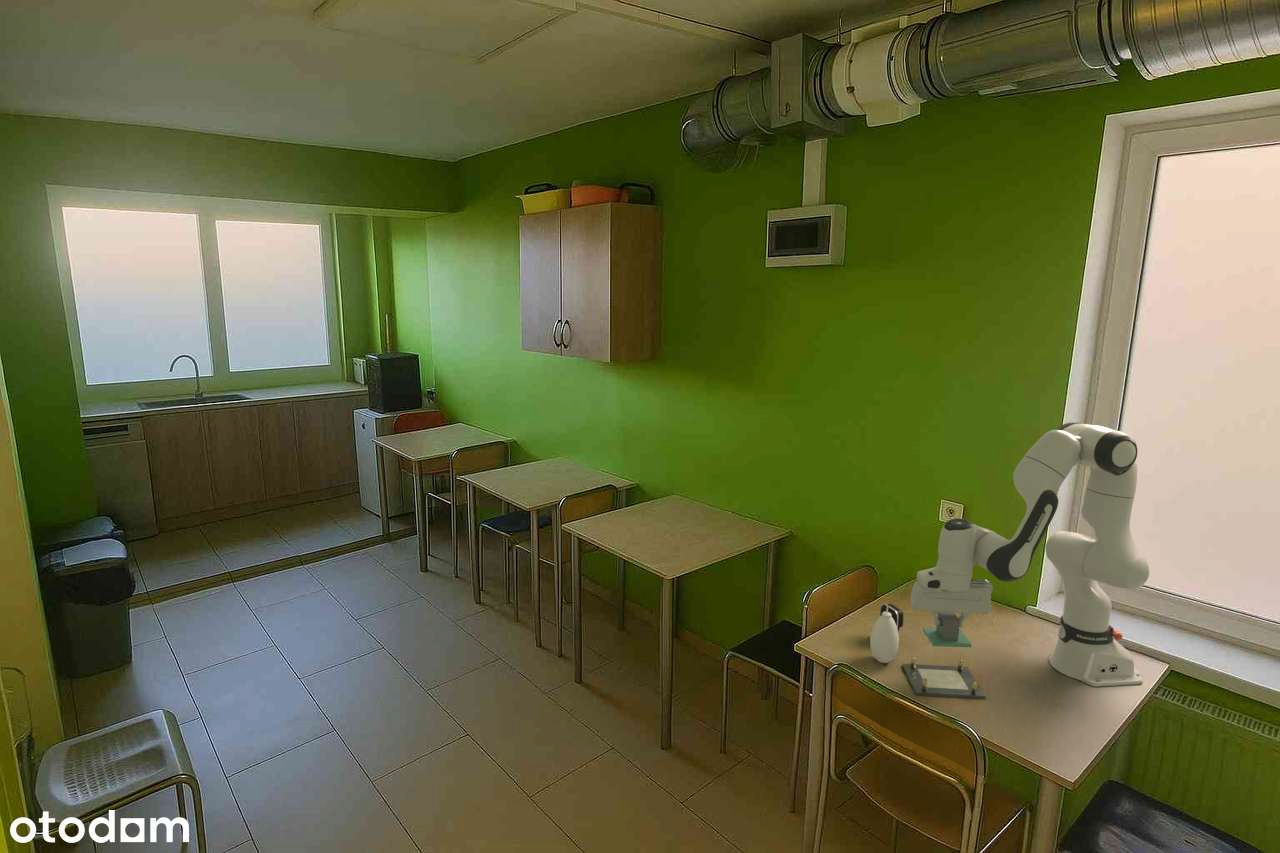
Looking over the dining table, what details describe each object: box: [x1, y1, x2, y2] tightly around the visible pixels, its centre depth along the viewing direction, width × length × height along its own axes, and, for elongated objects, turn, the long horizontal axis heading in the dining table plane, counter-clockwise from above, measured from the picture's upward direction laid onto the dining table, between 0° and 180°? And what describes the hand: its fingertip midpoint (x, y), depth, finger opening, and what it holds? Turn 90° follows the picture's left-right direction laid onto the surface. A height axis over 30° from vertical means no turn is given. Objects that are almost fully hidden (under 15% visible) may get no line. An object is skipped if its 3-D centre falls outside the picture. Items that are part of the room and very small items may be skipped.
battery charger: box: [879, 603, 904, 633], centre depth 214 cm, size 7×4×11 cm, turn 21°
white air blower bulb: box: [869, 605, 900, 664], centre depth 202 cm, size 8×8×18 cm
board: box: [922, 612, 972, 648], centre depth 190 cm, size 10×8×7 cm
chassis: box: [901, 655, 987, 700], centre depth 193 cm, size 18×14×4 cm
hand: (947, 625), depth 190 cm, fingers closed on board, 4 cm apart
